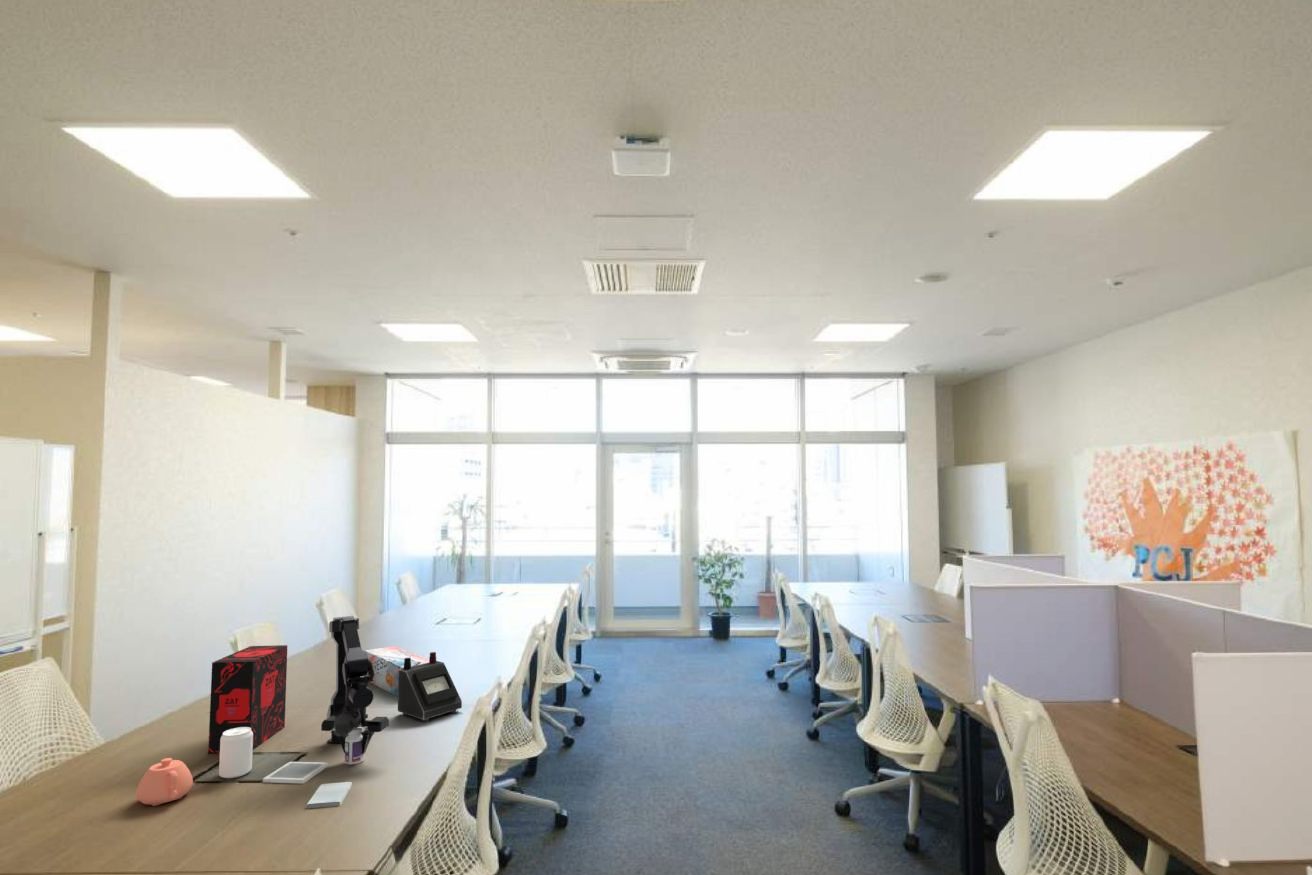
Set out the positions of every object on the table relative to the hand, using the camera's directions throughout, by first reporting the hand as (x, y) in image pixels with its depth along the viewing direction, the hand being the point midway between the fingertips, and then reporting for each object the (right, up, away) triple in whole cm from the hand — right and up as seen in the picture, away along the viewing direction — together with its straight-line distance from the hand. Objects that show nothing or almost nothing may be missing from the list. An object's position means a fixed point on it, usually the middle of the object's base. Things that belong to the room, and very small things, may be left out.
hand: (354, 752), depth 205 cm
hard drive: (+4, -1, -24) cm, 24 cm away
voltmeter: (+8, -6, +44) cm, 45 cm away
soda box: (-18, -10, +80) cm, 83 cm away
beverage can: (-31, -2, -8) cm, 32 cm away
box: (-43, -5, +19) cm, 48 cm away
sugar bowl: (-39, -1, -25) cm, 46 cm away
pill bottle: (0, -3, 0) cm, 3 cm away
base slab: (-13, -2, -9) cm, 16 cm away
